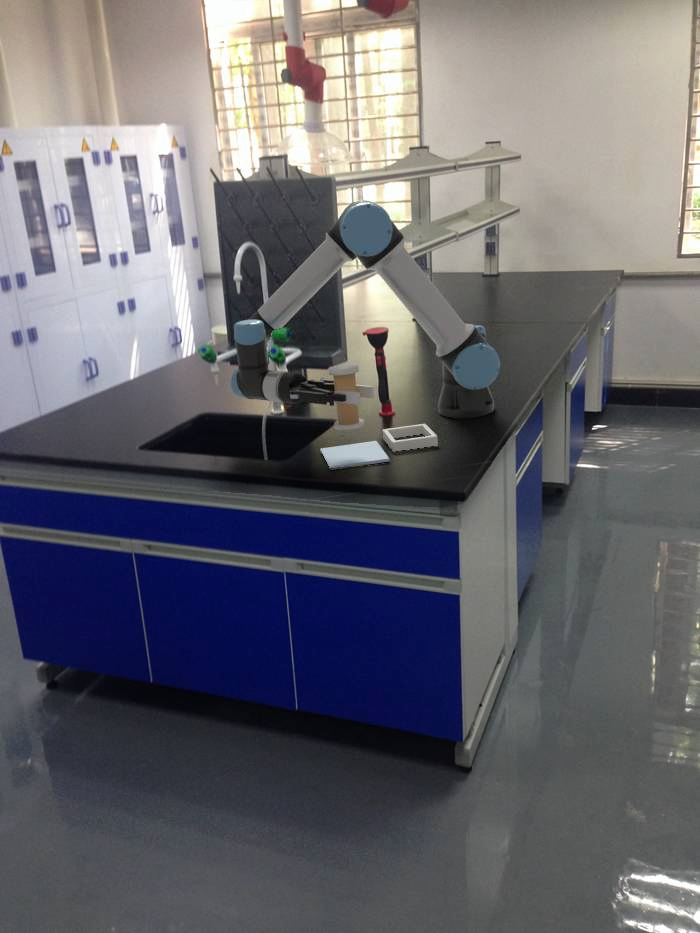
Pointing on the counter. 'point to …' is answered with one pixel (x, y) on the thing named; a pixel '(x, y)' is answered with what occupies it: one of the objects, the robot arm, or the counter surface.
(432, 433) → the collar
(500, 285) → the counter surface
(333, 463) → the pad
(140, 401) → the counter surface
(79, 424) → the counter surface
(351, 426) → the spool
